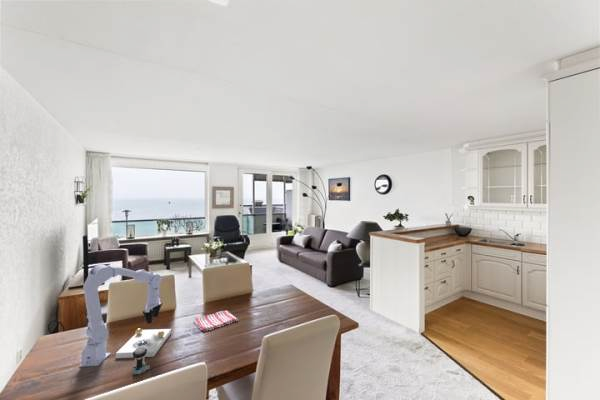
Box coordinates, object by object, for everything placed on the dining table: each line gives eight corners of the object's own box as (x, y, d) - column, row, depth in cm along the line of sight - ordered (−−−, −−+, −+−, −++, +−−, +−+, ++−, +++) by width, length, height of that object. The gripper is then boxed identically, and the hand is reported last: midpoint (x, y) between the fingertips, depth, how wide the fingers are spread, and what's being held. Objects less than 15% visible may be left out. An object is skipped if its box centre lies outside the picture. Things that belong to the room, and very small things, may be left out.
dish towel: (192, 322, 158) (192, 317, 159) (227, 312, 174) (227, 307, 174) (202, 333, 146) (202, 327, 146) (239, 322, 161) (239, 316, 161)
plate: (153, 356, 122) (153, 351, 122) (115, 358, 120) (116, 353, 120) (171, 333, 144) (171, 328, 144) (139, 334, 142) (139, 329, 142)
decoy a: (140, 335, 136) (140, 329, 136) (134, 336, 136) (134, 330, 136) (143, 332, 139) (143, 327, 139) (137, 333, 139) (137, 327, 139)
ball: (145, 340, 128) (148, 341, 131) (139, 340, 129) (142, 341, 131) (142, 348, 127) (145, 348, 129) (136, 347, 127) (139, 348, 129)
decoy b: (162, 338, 134) (162, 332, 134) (156, 339, 133) (156, 333, 133) (165, 335, 137) (165, 329, 137) (158, 335, 136) (159, 329, 136)
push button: (149, 366, 115) (150, 344, 115) (149, 372, 111) (150, 350, 111) (132, 370, 112) (133, 347, 112) (131, 377, 107) (132, 354, 108)
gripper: (155, 300, 133) (154, 326, 133) (166, 290, 147) (165, 314, 147) (140, 300, 132) (140, 326, 132) (153, 290, 146) (152, 314, 146)
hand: (152, 319), depth 139 cm, fingers open, 7 cm apart
